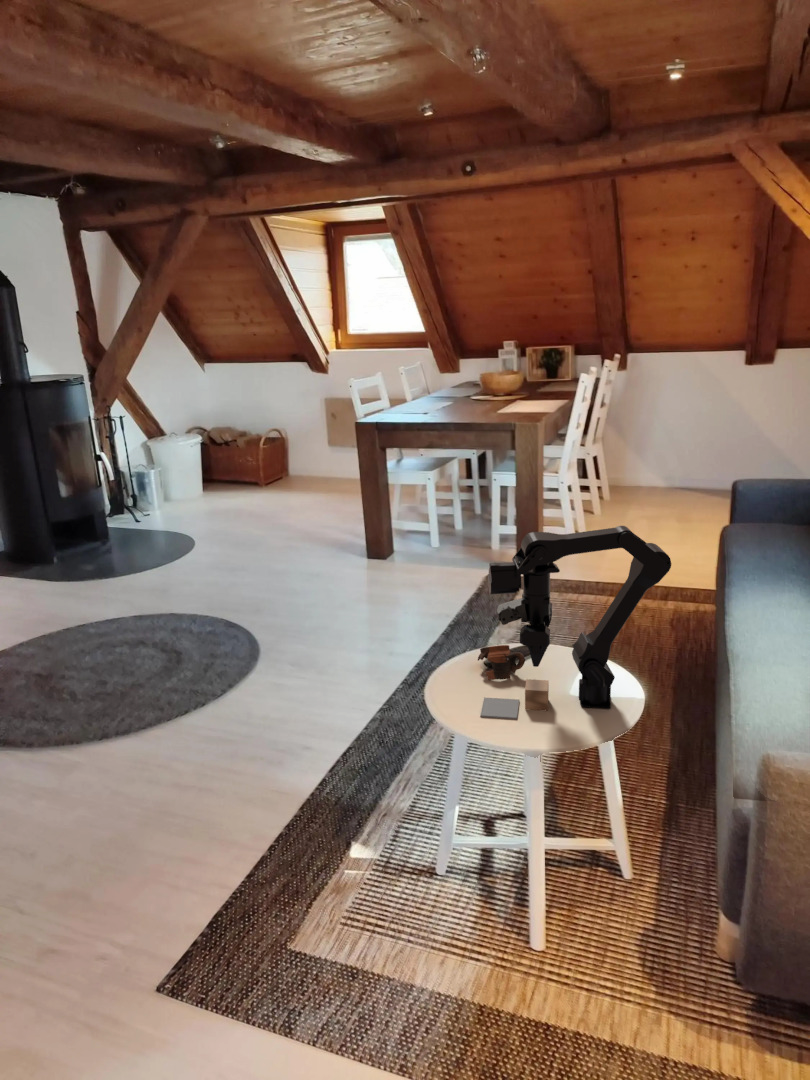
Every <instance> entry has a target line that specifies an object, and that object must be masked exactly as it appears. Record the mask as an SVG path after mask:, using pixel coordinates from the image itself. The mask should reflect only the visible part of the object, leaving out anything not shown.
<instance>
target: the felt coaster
mask: <svg viewBox="0 0 810 1080" xmlns="http://www.w3.org/2000/svg"><path fill="white" fill-rule="evenodd" d="M519 706H520V699H515V698H502V697H501V698H498V697H485V696H484V697H483V701H482V706H481V709H480V710H481V711H480V718H492V719H493V718H494V719H504V720H507V719H508V720H518V716H519V715H518V714H519V708H520V707H519Z"/></svg>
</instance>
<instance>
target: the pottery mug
mask: <svg viewBox="0 0 810 1080" xmlns="http://www.w3.org/2000/svg"><path fill="white" fill-rule="evenodd" d="M479 650H480V653H479V655H478V657H477V661H480V660H481V661H483V660H484V659H485V660H486V659H487V660H488V662H490V663H491V664H490V665H491V667H492V669H491V670H486V671H485V675H486V679H487V680H488V681H494V680H510V679H511V674H515V673H516V671H517V670H521V669H522V668H523V666H524V665H525V661H526V658H525V656H524V654H523V653H522V652H520V651H512V650H510V645H509V644H500V645H491V646H485V647H481V648H480V649H479ZM517 658H518V662H517ZM516 662H517V664H516Z"/></svg>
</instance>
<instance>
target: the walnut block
mask: <svg viewBox="0 0 810 1080" xmlns="http://www.w3.org/2000/svg"><path fill="white" fill-rule="evenodd" d="M549 681H550V680H546V679H528V678H526V679H525V687H524V710H525V709H530V710H529V711H541V710H546V711H545V712H548V710H549V691H550V690H549V686H550V685H549V683H550V682H549Z"/></svg>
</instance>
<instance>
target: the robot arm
mask: <svg viewBox="0 0 810 1080" xmlns="http://www.w3.org/2000/svg"><path fill="white" fill-rule="evenodd" d="M520 543H521V544H520V547H519V549H518V550H517V551H516V552H515V554H514V555H513V557H512V559H511V560H512V562H511V561H510V562H489V565H488V566H489V569H488V574H487V586H488V592H489V595H493V596H494V595H508V594H517V592H520V589H521V588H522V593H521V598H518V599H514V600H510V601H507V602H503V603H501V604H498V606H497V609H496V613H497V617H498V619H497V620H498V621H499V622H500V623H501V625H502V626H504V625H508V624H509V623H512V622H517V621H519V620H520V621H521V623H528V624H524V625H523V626H522V627H520V631H519V644H520V645H522V646H525V647H526V648H527V649H528V652H529V655H530V659H531V662H532V666H533V668H536V667H539V666H540V664H541V662H542V660H543V658H544V655H545V654H546V651H547V650H548V647H549V646H550V644H551V628H549V627H550V625H551V621H552V616H553V603H552V602H551V574H557V573H560V568H559V566H558V564H557V563H555V562H557V561H559V560H560V559H562V558H564V557H567V556H571V555H579V554H587V553H594V552H601V551H608V550H615V549H623V550H624V551H626V552H627V553H628V554H630V555H631V556H632V557H633V558H632V560H631V562H630V567H629V572H628V576H627V579H626V580H625V582H624V583H623V585H622V586H621V588H620V590H619V591H618V593H617V594H616V595H615V597H614V599H613V600H612V601H611V603H610V605H609V607H608V608H607V610H606V611H605V613H604V614H603V616H602V617H601V619H600V620H599V622H598V623H597V625H596V627H595V628H594V629H593V630H592V631H591V632H590V633H588V634H586V633H584V632H583V631H582V632H581V633H580V634H579V636H578V638H577V640H576V641H575V642H574V643H573V644H572V648H573V649H572V651H571V655H572V660H573V662H574V663H575V665H576V667H577V670H578V671H579V673H580V674H581V678H580V679H579V680H578V700H579V701H580V707H582V708H592V709H593V708H595V709H607V710H608V709H609V710H610V709H612V703H611V702H612V700H611V696H612V695H611V693H612V692H611V691H612V685H613V682H614V680H615V675H614V673H613V672H612V670H611V668H610V667H609V664H608V660H609V658H610V653H611V649H612V648H611V647H612V645H613V642H614V641H615V640H616V637H617V636H618V634H619V633H620V631H621V630H622V629H623V627H624V626H625V624H626V622H627V621H628V620H629V618H630V616H631V615H632V614H633V612H634V610H635V609H636V607H637V605H638V604H639V602H640V601H641V600H642V598H643V597H644V595H645V594H646V592H647V591H648V590H649V589H651V588H652V587H654V586H655V585H657V584H659V583H660V582H661V580H662V579H663V578H665V576H666V575H667V574H669V573H668V572H670V570H671V568H672V562H671V561H672V560H671V557H670V556H669V554H667V553H666V552H665V551H664V550H663V549H662V548H661V547H660V546H659V545H658V544H657V543H654V542H646V541H645V540H644V539H642V538H640V537H639V536H638V535H637V534H635V533H634V532H633V531H631V529H630V528H629V527H628V526H625V525H619V526H618V525H617V526H616V527H609V528H603V529H602V528H601V529H595V530H587V531H581V532H579V531H578V532H572V533H565V534H561V533H554V532H546V531H545V532H544V531H532V532H529V533H527V534H525V536H524V537H523V539H522V540H521V542H520Z"/></svg>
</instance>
